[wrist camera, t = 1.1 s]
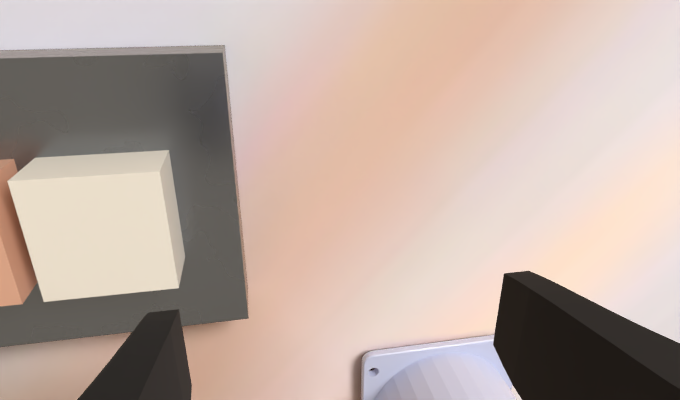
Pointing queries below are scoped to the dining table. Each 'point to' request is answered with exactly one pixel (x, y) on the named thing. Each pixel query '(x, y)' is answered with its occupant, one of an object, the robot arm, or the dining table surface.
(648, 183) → the dining table surface
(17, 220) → the tile
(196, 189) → the slate plate
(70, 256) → the tile
